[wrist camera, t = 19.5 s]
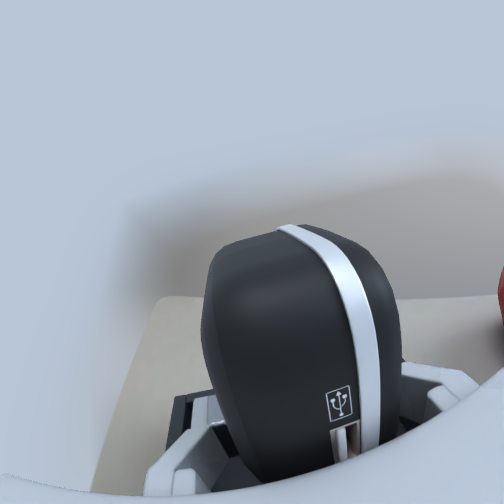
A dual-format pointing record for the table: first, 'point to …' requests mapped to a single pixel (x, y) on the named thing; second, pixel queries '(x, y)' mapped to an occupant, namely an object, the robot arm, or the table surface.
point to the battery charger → (302, 350)
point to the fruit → (501, 294)
